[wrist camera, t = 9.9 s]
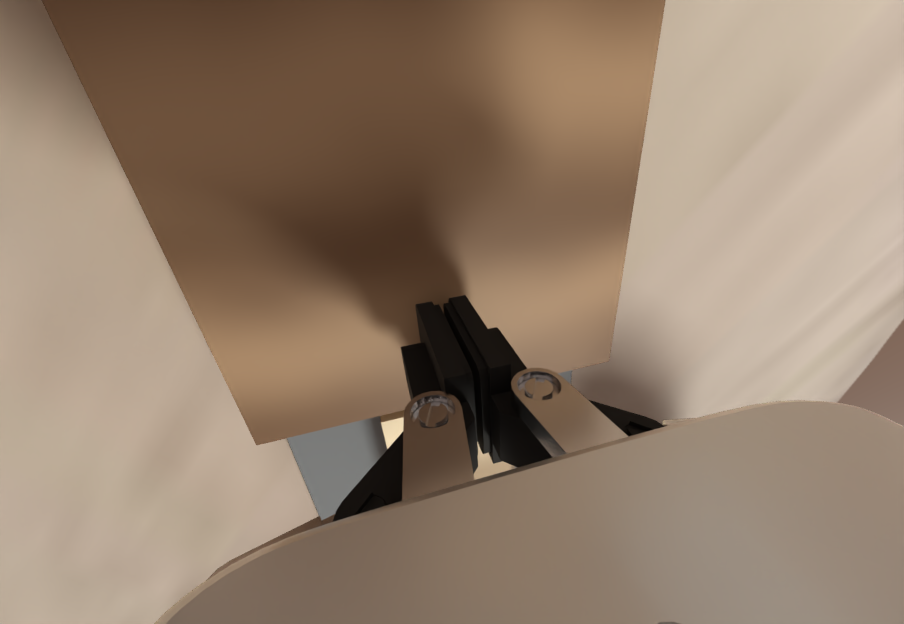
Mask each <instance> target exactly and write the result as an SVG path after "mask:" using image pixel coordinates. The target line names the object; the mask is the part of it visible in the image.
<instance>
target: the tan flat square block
mask: <svg viewBox="0 0 904 624" xmlns="http://www.w3.org/2000/svg"><path fill="white" fill-rule="evenodd" d="M42 2H43V4H44V6H45V8H46V10H47V12H48V14H49V16H50V18H51V20H52V23H53V25H54V27H55V29H56V31H57V33H58V35H59V37H60V39H61V41H62V43H63V45H64V47H65V49H66V52H67V54H68V56H69V58H70V60H71V62H72V64H73V66H74V68H75V70H76V72H77V74H78V76H79V79H80V81H81V83H82V85H83V87H84V89H85V91H86V93H87V95H88V97H89V99H90V101H91V103H92V105H93V108H94V110H95V112H96V114H97V116H98V118H99V120H100V122H101V124H102V126H103V128H104V130H105V132H106V134H107V137H108V139H109V141H110V143H111V145H112V147H113V149H114V151H115V153H116V155H117V157H118V159H119V161H120V163H121V166H122V168H123V170H124V172H125V174H126V176H127V178H128V180H129V182H130V184H131V186H132V188H133V190H134V192H135V195H136V197H137V199H138V201H139V203H140V205H141V207H142V209H143V211H144V213H145V215H146V217H147V219H148V221H149V224H150V226H151V228H152V230H153V232H154V234H155V236H156V238H157V240H158V242H159V244H160V246H161V248H162V250H163V253H164V255H165V257H166V259H167V261H168V263H169V265H170V267H171V269H172V271H173V273H174V275H175V277H176V280H177V282H178V284H179V286H180V288H181V290H182V292H183V294H184V296H185V298H186V300H187V302H188V304H189V306H190V309H191V311H192V313H193V315H194V317H195V319H196V321H197V323H198V325H199V327H200V329H201V331H202V333H203V335H204V338H205V340H206V342H207V344H208V346H209V348H210V350H211V352H212V354H213V356H214V358H215V360H216V362H217V364H218V367H219V369H220V371H221V373H222V375H223V377H224V379H225V381H226V383H227V385H228V387H229V389H230V391H231V393H232V396H233V398H234V400H235V402H236V404H237V406H238V408H239V410H240V412H241V414H242V416H243V418H244V420H245V422H246V425H247V427H248V429H249V431H250V433H251V435H252V437H253V439H254V441H255V443H256V445H260V444H264V443H268V442H273V441H277V440H281V439H285V438H289V437H294V436H298V435H302V434H306V433H310V432H315V431H319V430H323V429H327V428H331V427H335V426H340V425H344V424H348V423H352V422H356V421H361V420H365V419H369V418H373V417H377V416H382V415H386V414H390V413H394V412H398V411H403V410H405V407H406V406H407V404H408V403H409V402H410V401H411V398H410V394H409V390H408V385H407V380H406V375H405V370H404V364H403V359H402V353H401V347H402V346H407V345H412V344H417V343H421V342H420V336H419V329H418V322H417V315H416V307H415V305H416V304H420V303H425V302H431V301H432V302H433V304H434V305H438V304H439V305H440V307H441V309H442V311H443V313H444V309H443V304H444V303H448V299H449V298H452V297H457V296H463V295H466V297H467V298H468V300H469V301H470V303H471V304H472V306H473V307H474V309H475V310H476V312H477V313H478V315H479V316H480V318H481V319H482V321H483V322H484V324H485V325H486V327H487V328H488V329H489V328H494V327H497V328H498V329H499V330H500V331H501V333H502V334H503V335H504V337H505V338H506V340H507V341H508V342H509V344H510V345H511V347H512V348H513V349H514V351H515V352H516V354H517V355H518V356H519V358H520V359H521V361H522V362H523V363H524V365H525V366H526V368H527V369H529V368H544V369H549V370H551V371H554V372H556V373H557V374H558V373H562V372H566V371H570V370H575V369H579V368H583V367H587V366H591V365H596V364H600V363H604V362H608V361H609V358H610V351H611V345H612V339H613V332H614V326H615V319H616V313H617V307H618V300H619V294H620V287H621V281H622V275H623V268H624V262H625V255H626V249H627V243H628V236H629V230H630V223H631V217H632V211H633V204H634V198H635V191H636V185H637V179H638V172H639V166H640V159H641V153H642V147H643V140H644V134H645V127H646V121H647V115H648V108H649V102H650V95H651V89H652V83H653V76H654V70H655V63H656V57H657V51H658V44H659V38H660V31H661V25H662V19H663V12H664V6H665V0H42Z"/></svg>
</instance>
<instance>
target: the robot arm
mask: <svg viewBox="0 0 904 624" xmlns="http://www.w3.org/2000/svg"><path fill="white" fill-rule="evenodd" d="M415 307H416V315H417V322H418V329H419V336H420V342H421V343H417V344H412V345H407V346H402V347H401V353H402V359H403V364H404V370H405V375H406V380H407V385H408V390H409V394H410V398H411V401H410V402H409V403H408V404H407V406H406V407H405V411H404V421H403V432H402V433H401V434H400V436H399V437H398V438H397V439H396V440H395V441H394V442H393V444H392V445H391V446H390V447H389V448H388V449H387V450H386V452H385V453H384V454H383V455H382V456H381V457H380V459H379V460H378V461H377V462H376V463H375V464H374V465H373V467H372V468H371V469H370V470H369V471H368V472H367V473H366V475H365V476H364V477H363V478H362V479H361V480H360V481H359V483H358V484H357V485H356V486H355V487H354V488H353V490H352V491H351V492H350V493H349V494H348V495H347V496H346V498H345V499H344V500H343V501H342V503H341V504H340V506H339V507H338V509H337V510H336V513H335V514H334V515H332V516H330V517H328V518H326V519H324V520H322V519H321V517H320V516H319V517H317V518H315V519H313V520H311V521H309V522H307V523H305V524H303V525H301V526H299V527H296V528H294V529H292V530H290V531H288V532H286V533H284V534H282V535H280V536H278V537H276V538H274V539H272V540H270V541H268V542H266V543H264V544H262V545H260V546H258V547H256V548H254V549H252V550H250V551H248V552H246V553H244V554H242V555H240V556H238V557H236V558H234V559H232V560H230V561H229V562H227V563H226V564H224V565H223V566H221V567H220V568H218V569H217V570H216V571H215V572H214V573H213V574H212V575H211V576H210V577H209V578H208V579H207V580H206V581H205V582H203V583H202V584H200V585H199V586H197V587H196V588H195V589H194V590H192V591H191V592H190V593H188V594H187V595H186V596H184V597H183V598H182V599H181V600H179V601H178V602H177V603H176V604H175V605H173V606H172V607H171V608H170V609H169V610H168V611H166V612H165V613H164V614H163V615H162V616H161V617H160V618H159V619H158V620H157V621H156V622H155V623H154V624H904V426H902V425H900V424H898V423H896V422H893V421H891V420H889V419H887V418H885V417H883V416H881V415H878V414H876V413H874V412H871V411H869V410H866V409H863V408H859V407H856V406H851V405H846V404H841V403H833V402H824V401H805V400H795V401H776V402H769V403H762V404H755V405H749V406H745V407H741V408H736V409H732V410H727V411H722V412H719V413H715V414H711V415H707V416H703V417H699V418H687V419H671V420H663V423H662V424H660V423H658V422H657V421H655V420H652V419H650V418H647V417H644V416H641V415H638V414H634V413H631V412H627V411H624V410H621V409H617V408H614V407H610V406H607V405H604V404H600V403H597V402H594V401H590V400H587V399H586V398H585V397H584V396H583V395H582V394H581V393H580V392H579V391H577V390H576V389H575V388H574V387H573V386H572V385H571V384H570V383H569V382H567V381H566V380H565V379H564V378H563V377H562V376H560V375H559V374H557V373H556V372H554V371H551V370H549V369H544V368H529V369H527V368H526V366H525V365H524V363H523V362H522V361H521V359H520V358H519V356H518V355H517V354H516V352H515V351H514V349H513V348H512V347H511V345H510V344H509V342H508V341H507V340H506V338H505V337H504V335H503V334H502V333H501V331H500V330H499V329H498V328H497V327H494V328H489V329H488V328H487V327H486V325H485V324H484V322H483V321H482V319H481V318H480V316H479V315H478V313H477V312H476V310H475V309H474V307H473V306H472V304H471V303H470V301H469V300H468V298H467V297H466V295H463V296H457V297H452V298H449V299H448V303H444V304H443V309H444V313H443V311H442V309H441V307H440V305H439V304H438V305H434V304H433V302H432V301H431V302H425V303H420V304H416V305H415ZM477 442H478V443H477ZM478 444H479V447H480V449H481V451H482V453H483V454H486V453H489V455H490V457H491V460H492V462H493V464H495V463H498V462H502V461H503V462H506V463H508V464H510V465H511V470H508V471H504V472H501V473H497V474H494V475H490V476H487V477H483V478H480V479H476V480H475V479H474V473H475V471H476V469H477V468H478Z"/></svg>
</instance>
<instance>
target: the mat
mask: <svg viewBox="0 0 904 624" xmlns="http://www.w3.org/2000/svg"><path fill="white" fill-rule="evenodd" d="M558 374H559V375H560V376H562V377H563V378H564V379H565V380H566V381H567V382H569V383H570V384H571V376H572V370H570V371H566V372H562V373H558ZM287 440H288V442H289V445H290V447H291V450H292V452H293V454H294V457H295V459H296V461H297V464H298V466H299V469H300V471H301V473H302V476H303V478H304V481H305V483H306V485H307V488H308V490H309V492H310V495H311V497H312V500H313V502H314V504H315V507H316V509H317V511H318V514H319V516H320V517H321V519H322V520H324V519H326V518H328V517H330V516H332V515H334V514H335V513H336V510H337V509H338V507H339V506H340V504H341V503H342V501H343V500H344V499H345V498H346V496H347V495H348V494H349V493H350V492H351V491H352V490H353V488H354V487H355V486H356V485H357V484H358V483H359V481H360V480H361V479H362V478H363V477H364V476H365V475H366V473H367V472H368V471H369V470H370V469H371V468H372V467H373V465H374V464H375V463H376V462H377V461H378V460H379V459H380V457H381V456H382V455H383V454H384V453H385V452H386V450H387V446H386V442H385V437H384V433H383V429H382V425H381V419H380V416H377V417H373V418H369V419H365V420H361V421H356V422H352V423H348V424H344V425H340V426H335V427H331V428H327V429H323V430H319V431H315V432H310V433H306V434H302V435H298V436H294V437H289V438H287Z"/></svg>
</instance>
